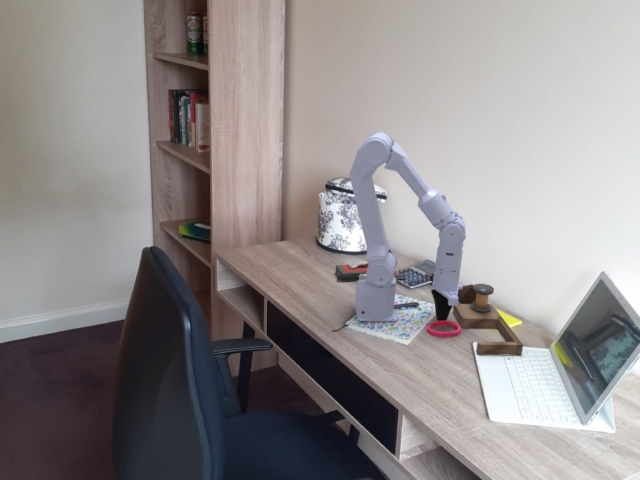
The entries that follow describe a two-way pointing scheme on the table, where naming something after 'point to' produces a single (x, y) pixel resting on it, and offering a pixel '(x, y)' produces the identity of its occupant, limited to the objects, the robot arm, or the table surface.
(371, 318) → the robot arm
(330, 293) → the table surface
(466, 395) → the table surface
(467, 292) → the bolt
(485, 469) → the table surface
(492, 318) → the notched board
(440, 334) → the fitness band
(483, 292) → the spool
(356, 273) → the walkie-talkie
